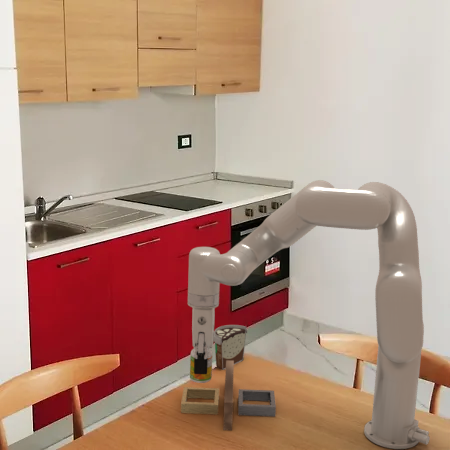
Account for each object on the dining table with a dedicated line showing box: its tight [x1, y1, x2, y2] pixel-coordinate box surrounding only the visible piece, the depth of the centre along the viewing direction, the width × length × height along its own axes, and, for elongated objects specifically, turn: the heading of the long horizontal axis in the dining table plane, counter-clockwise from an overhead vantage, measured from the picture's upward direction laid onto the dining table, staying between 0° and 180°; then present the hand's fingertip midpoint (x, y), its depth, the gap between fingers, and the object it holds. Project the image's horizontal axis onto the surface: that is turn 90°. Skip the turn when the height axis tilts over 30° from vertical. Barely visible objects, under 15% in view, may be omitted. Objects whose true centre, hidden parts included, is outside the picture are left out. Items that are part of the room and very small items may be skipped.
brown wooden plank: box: [222, 360, 235, 431], centre depth 176 cm, size 2×24×7 cm, turn 179°
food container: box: [213, 324, 248, 371], centre depth 202 cm, size 12×6×10 cm, turn 141°
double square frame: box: [180, 386, 277, 417], centre depth 176 cm, size 23×9×2 cm, turn 89°
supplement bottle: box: [189, 343, 213, 384], centre depth 174 cm, size 5×5×10 cm
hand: (201, 367), depth 175 cm, fingers closed on supplement bottle, 5 cm apart
